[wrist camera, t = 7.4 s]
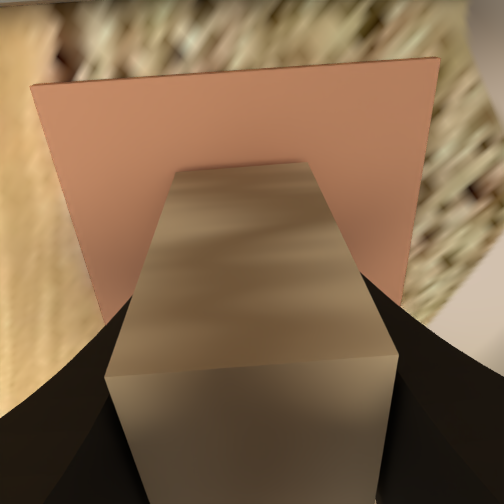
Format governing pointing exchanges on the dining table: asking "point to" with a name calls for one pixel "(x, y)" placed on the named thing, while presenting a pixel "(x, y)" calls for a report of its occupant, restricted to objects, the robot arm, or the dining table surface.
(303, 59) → the dining table surface
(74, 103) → the mat
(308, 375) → the peg
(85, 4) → the dining table surface
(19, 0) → the pocket plate
